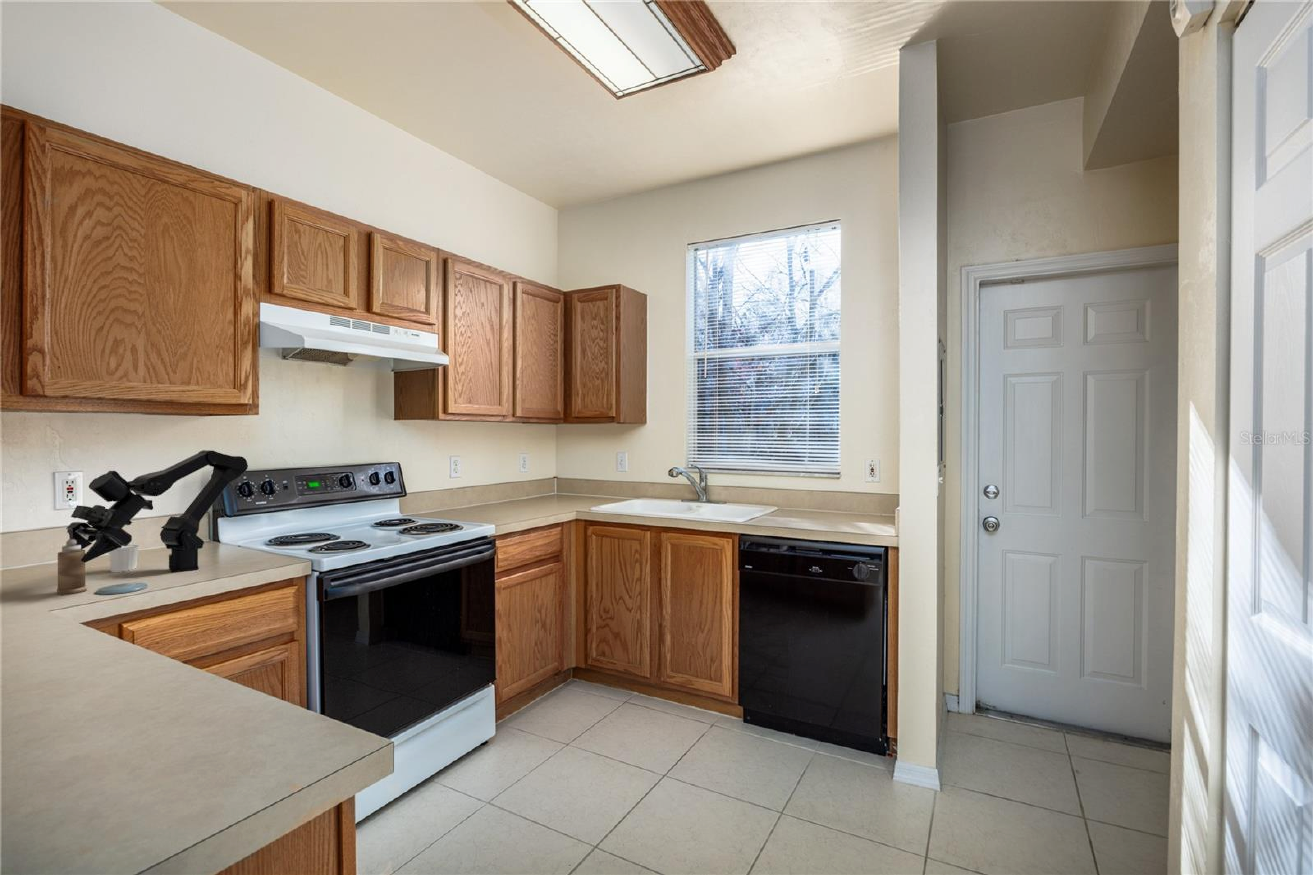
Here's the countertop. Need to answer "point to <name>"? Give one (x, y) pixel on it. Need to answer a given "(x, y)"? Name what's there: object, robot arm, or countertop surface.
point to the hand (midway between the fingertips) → (71, 560)
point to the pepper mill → (71, 569)
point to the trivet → (121, 588)
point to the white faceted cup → (123, 558)
